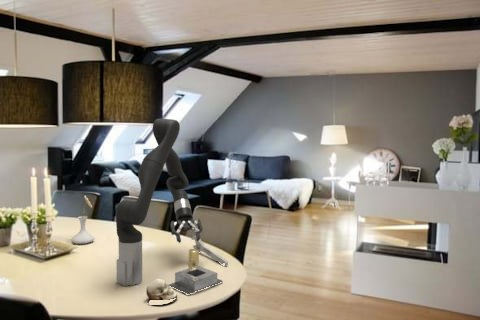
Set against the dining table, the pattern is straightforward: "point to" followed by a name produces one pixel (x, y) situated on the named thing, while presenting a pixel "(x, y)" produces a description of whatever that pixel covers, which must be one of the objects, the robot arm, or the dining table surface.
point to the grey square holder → (194, 279)
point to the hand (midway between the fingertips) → (189, 241)
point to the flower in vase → (83, 228)
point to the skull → (160, 290)
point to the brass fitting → (193, 258)
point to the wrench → (208, 251)
